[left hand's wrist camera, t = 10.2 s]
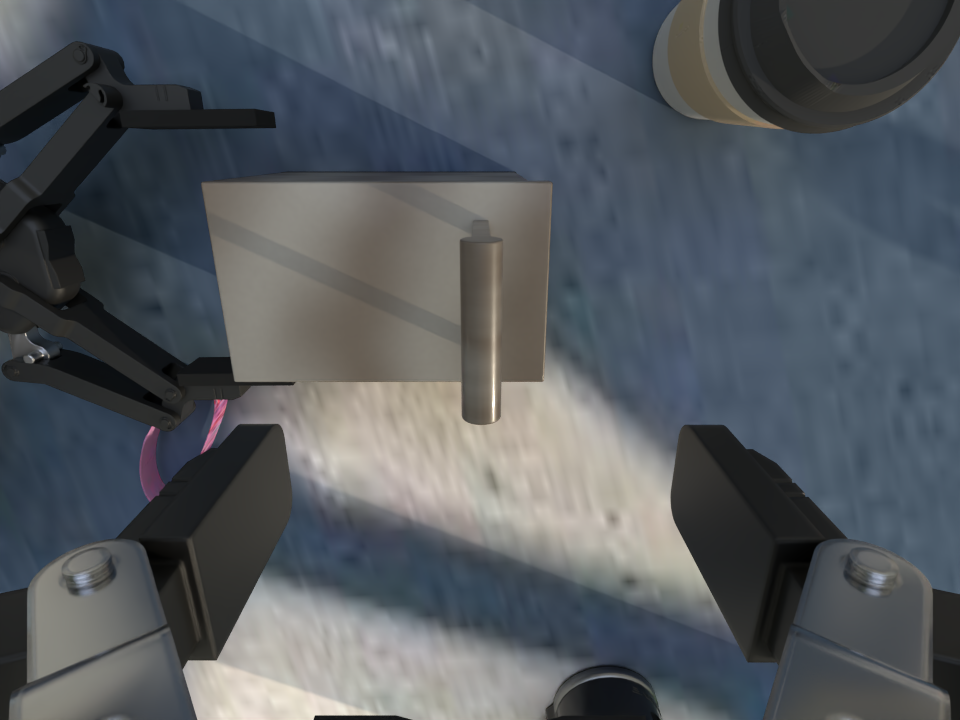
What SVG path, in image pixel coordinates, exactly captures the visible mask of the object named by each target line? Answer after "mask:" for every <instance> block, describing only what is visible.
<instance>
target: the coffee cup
mask: <svg viewBox="0 0 960 720" xmlns="http://www.w3.org/2000/svg"><path fill="white" fill-rule="evenodd" d="M959 37H960V0H681V1H680V3H679V4H678V5H677V6H676V7H675V8H674V9H673V10H672V11H671V12H670V13H669V15H668V16H667V17H666V19H665V20H664V22H663V24H662V26H661V28H660V30H659V32H658V35H657V37H656V41H655V44H654V49H653V73H654V78H655V82H656V85H657V87H658V89H659V91H660V93H661V95H662V97H663V98H664V99H665V101H666V102H667V103H668V104H669V105H670V106H671V107H672V108H673V109H675V110H676V111H678V112H679V113H681V114H683V115H685V116H688V117H691V118H696V119H706V120H713V121H716V122H720V123H727V124H736V125H746V126H755V127H764V128H774V129H786V130H790V131H794V132H800V133H828V132H834V131H839V130H843V129H847V128H850V127H853V126H856V125H859V124H863V123H866V122H869V121H872V120H875V119H877V118H879V117H882V116H884V115H886V114H888V113H890V112H891V111H893V110H895V109H896V108H898V107H900V106H901V105H903V104H904V103H905V102H907V101H908V100H909V99H911V98H912V97H913V96H914V95H916V94H917V93H918V92H919V91H920V90H921V89H922V88H923V87H924V86H925V85H926V84H927V83H928V82H929V81H930V80H931V79H932V78H933V77H934V75H935V74H936V73H937V72H938V70H939V69H940V68H941V67H942V65H943V64H944V62H945V61H946V59H947V58H948V56H949V55H950V53H951V52H952V50H953V48H954V46H955V45H956V43H957V41H958V39H959Z"/></svg>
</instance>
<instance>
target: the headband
mask: <svg viewBox="0 0 960 720" xmlns="http://www.w3.org/2000/svg"><path fill="white" fill-rule="evenodd" d="M214 405H215V408H214V416H213V420H212V424H211V427H210V430H209V433H208V436H207V439H206V442H205V444H204V447H203V449H202V452H201V454H202V453H204V452H205V451H207V450H209V449H210V448H211V445H212V443H213V441H214V439H215V436H216V434H217V431H218V429H219V426H220V424H221V421H222V418H223V415H224V412H225V409H226V405H227V400H224V399H223V400H214ZM159 431H160V429H158V428H155V427H153V426H152V427H151V429H150V430H149V432H148V434H147V435H146V437H145V440H144V443H143V448H142V452H141V457H140V479H141V484H142V488H143V490H144V493H145V495H146V497H147V498H148V500H149V501H151V500H152V499H153V498H154V497H155V496H159V492H160V491H161V490H162V489H163V488H164V486H165V484H164V483H163V481H162V480H161V478H160V475H159V473H158V469H157V464H156V445H157V439H158V435H159Z"/></svg>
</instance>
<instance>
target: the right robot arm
mask: <svg viewBox="0 0 960 720" xmlns="http://www.w3.org/2000/svg"><path fill="white" fill-rule="evenodd" d="M81 100H83V101H82V102H81V103H80V104H79V106H78V107H77V108H76V109H75V110H74V112H73V113H72V114H71V115H70V116H69V118H68V119H67V120H66V121H65V123H64V124H63V125H62V126H61V127H60V129H59V130H58V131H57V132H56V133H55V135H54V136H53V137H52V138H51V140H50V141H49V142H48V143H47V144H46V146H45V147H44V148H43V149H42V151H41V152H40V153H39V154H38V155H37V157H36V158H35V159H34V160H33V161H32V163H31V164H30V165H29V166H28V168H27V169H26V170H25V171H24V172H23V174H22V175H21V176H20V177H18V178H16V179H14V180H11V181H10V182H8V183H6V182H4V181H2V180H1V179H0V330H1V331H3V332H5V333H8V335H9V340H10V345H11V350H12V355H13V359H12V360H9V361H7V362H5V363H4V364H3V365H2V372H3V374H4V375H5V377H6V378H8V379H10V380H12V381H19V382H30V383H41V384H46V385H49V386H51V387H54V388H56V389H59V390H61V391H64V392H67V393H69V394H72V395H74V396H77V397H79V398H82V399H84V400H87V401H89V402H92V403H94V404H97V405H100V406H102V407H105V408H107V409H110V410H112V411H115V412H117V413H120V414H122V415H125V416H127V417H130V418H132V419H135V420H138V421H140V422H143V423H145V424H148V425H150V426H153V427H155V428H158V429H160V430H163V431H172V430H174V429H175V428H176V427H177V426H178V425H179V424H180V423H181V422H183V421H184V420H185V419H186V418H187V417H188V416H189V415H190V414H191V413H192V412H193V411H194V410H195V407H196V405H195V402H194V400H223V399H224V400H234V399H236V398H239V397H241V396H242V395H243V394H244V393H245V392H246V391H247V390H248V389H249V388H250V386H260V385H294V384H295V382H235V381H234V376H233V370H232V364H231V358H230V357H199V358H198V359H196V360H195V361H194V362H192V363H191V364H189V365H188V366H187V365H186V364H184V363H183V362H181V361H180V360H178V359H177V358H175V357H174V356H172V355H171V354H169V353H168V352H166V351H165V350H163V349H162V348H160V347H159V346H157V345H156V344H154V343H153V342H151V341H150V340H148V339H147V338H145V337H144V336H142V335H141V334H139V333H138V332H136V331H135V330H133V329H132V328H130V327H129V326H127V325H126V324H124V323H123V322H121V321H120V320H118V319H117V318H115V317H114V316H113V315H111V314H110V313H108V312H107V311H105V310H104V309H103V304H102V303H101V302H100V301H99V300H97V299H96V298H94V297H93V296H91V295H90V294H88V293H87V292H85V291H84V290H82V289H81V288H80V285H81V282H83V281H85V278H84V274H83V270H82V267H81V265H80V263H79V261H78V259H77V258H76V256H75V253H74V236H73V232H72V228H71V226H66V225H65V224H64V222H63V221H62V219H61V218H60V217H59V215H60V213H61V212H62V211H63V210H64V209H65V208H66V206H67V205H68V204H69V203H70V202H71V201H72V200H73V198H74V197H75V194H74V191H75V190H76V188H77V187H78V186H79V185H80V184H81V183H82V181H83V180H84V179H85V178H86V177H87V176H88V174H89V173H90V172H91V171H92V170H93V169H94V168H95V166H96V165H97V164H98V163H99V162H100V161H101V159H102V158H103V157H104V156H105V155H106V154H107V152H108V151H109V150H110V149H111V148H112V147H113V145H114V144H115V143H116V142H117V141H118V140H119V139H120V137H121V136H122V135H123V134H124V133H125V132H126V130H127V129H128V128H139V129H231V128H276V124H275V116H274V112H269V111H263V110H258V109H203V103H202V97H201V92H200V91H197V90H195V89H192V88H190V87H185V86H181V85H176V84H175V85H134V84H133V83H132V82H131V81H130V80H129V79H128V77H127V76H126V74H125V72H124V61H123V59H122V57H121V56H120V55H119V54H118V53H117V52H115V51H113V50H109V49H105V48H102V47H98V46H94V45H91V44H87V43H83V42H78V41H76V42H73V43H71V44H69V45H68V46H66V47H65V48H63V49H62V50H60V51H59V52H57V53H56V54H54V55H53V56H51V57H50V58H48V59H47V60H45V61H44V62H43V63H41V64H40V65H38V66H37V67H35V68H34V69H32V70H31V71H29V72H28V73H26V74H25V75H23V76H22V77H20V78H19V79H17V80H16V81H14V82H13V83H11V84H10V85H8V86H7V87H5V88H4V89H2V90H1V91H0V157H1V155H4V154H5V153H6V148H5V146H4V144H9V143H12V142H15V141H18V140H20V139H22V138H24V137H25V136H27V135H28V134H30V133H32V132H33V131H35V130H36V129H38V128H39V127H41V126H42V125H44V124H45V123H47V122H49V121H50V120H52V119H53V118H55V117H56V116H58V115H59V114H61V113H63V112H64V111H66V110H67V109H69V108H70V107H72V106H73V105H75V104H76V103H78V102H80V101H81ZM65 305H66V306H67V307H69V309H66V310H60V309H62V308H63V307H64V306H65ZM39 327H40V328H42V329H43V330H45V331H46V332H48V333H50V334H52V335H54V336H57V337H66V338H68V339H70V340H71V341H73V342H74V343H76V344H77V345H79V346H80V347H82V348H84V349H85V350H87V351H88V352H90V353H91V354H93V355H94V356H96V357H97V358H99V359H101V360H102V361H104V362H105V363H104V362H101V361H99V360H96V359H94V358H91V357H89V356H87V355H84V354H81V353H78V352H74V351H70V350H64V349H63V346H62V344H61V343H60V342H57V341H56V342H52V341H49V340H46V339H44V338H43V337H42V336H41V335H40V334H39V332H38V330H37V328H39ZM106 363H107V364H106Z"/></svg>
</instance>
